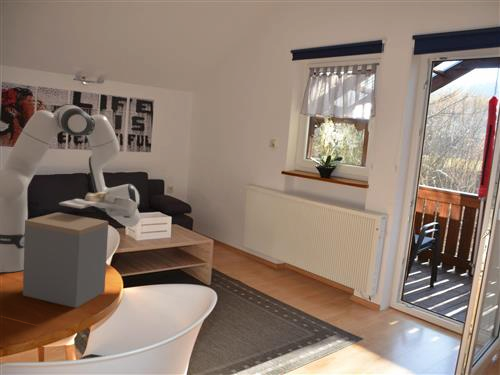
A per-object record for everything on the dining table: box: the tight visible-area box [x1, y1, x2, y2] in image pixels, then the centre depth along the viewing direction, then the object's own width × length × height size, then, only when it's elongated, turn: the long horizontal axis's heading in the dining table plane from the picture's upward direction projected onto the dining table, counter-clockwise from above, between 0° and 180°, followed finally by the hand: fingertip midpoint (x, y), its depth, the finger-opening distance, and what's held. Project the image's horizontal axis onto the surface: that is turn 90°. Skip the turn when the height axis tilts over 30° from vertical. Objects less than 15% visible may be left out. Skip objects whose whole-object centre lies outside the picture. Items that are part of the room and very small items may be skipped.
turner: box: [58, 191, 109, 210], centre depth 171 cm, size 22×9×2 cm, turn 164°
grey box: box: [22, 211, 109, 309], centre depth 159 cm, size 21×16×26 cm
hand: (100, 195), depth 178 cm, fingers closed on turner, 2 cm apart
